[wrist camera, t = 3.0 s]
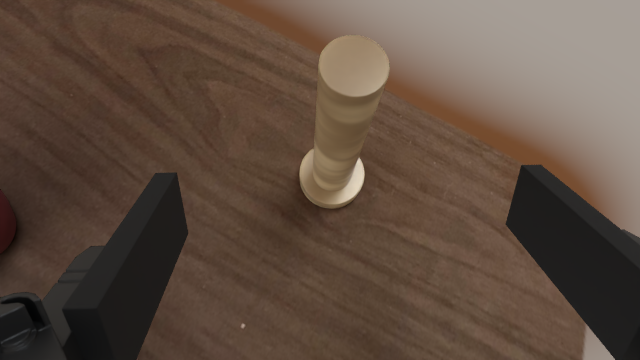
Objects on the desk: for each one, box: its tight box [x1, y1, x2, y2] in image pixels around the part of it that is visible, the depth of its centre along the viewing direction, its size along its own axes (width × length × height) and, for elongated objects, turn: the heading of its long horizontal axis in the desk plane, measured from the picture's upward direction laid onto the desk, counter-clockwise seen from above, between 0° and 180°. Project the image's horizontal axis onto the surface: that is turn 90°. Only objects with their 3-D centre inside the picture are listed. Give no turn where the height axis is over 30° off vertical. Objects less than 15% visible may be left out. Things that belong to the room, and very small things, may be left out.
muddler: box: [299, 35, 390, 209], centre depth 21 cm, size 4×4×14 cm
